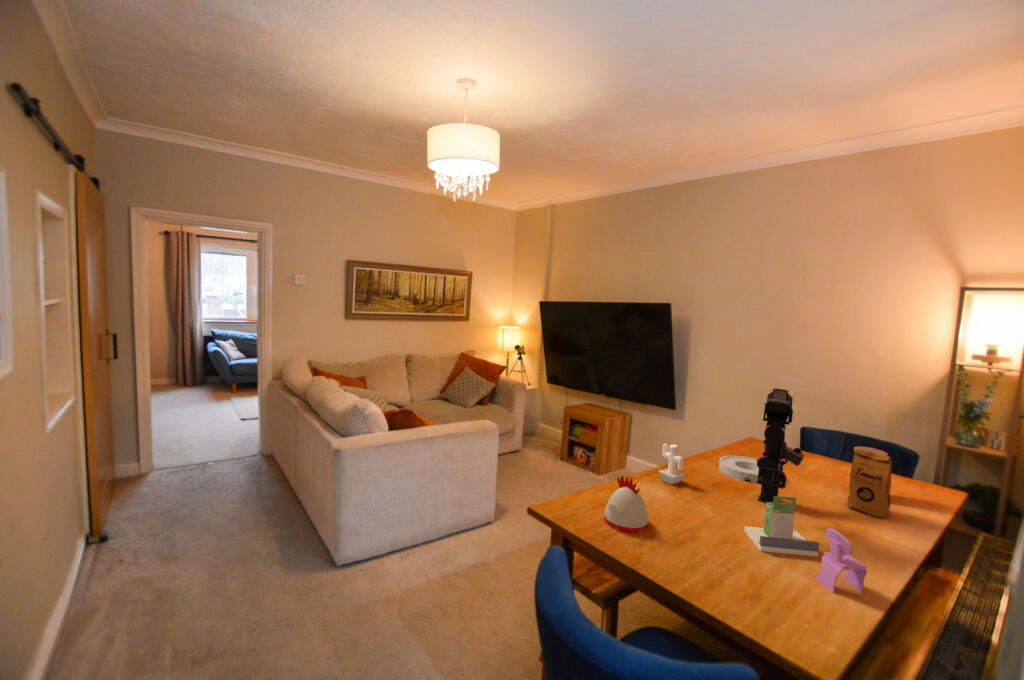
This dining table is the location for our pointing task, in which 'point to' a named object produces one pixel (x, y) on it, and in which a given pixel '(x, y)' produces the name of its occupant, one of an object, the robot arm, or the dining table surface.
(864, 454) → the coffee package
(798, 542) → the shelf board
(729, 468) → the ashtray
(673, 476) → the figurine
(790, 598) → the dining table surface
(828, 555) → the toy chair
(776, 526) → the ink box
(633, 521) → the kitchen timer
